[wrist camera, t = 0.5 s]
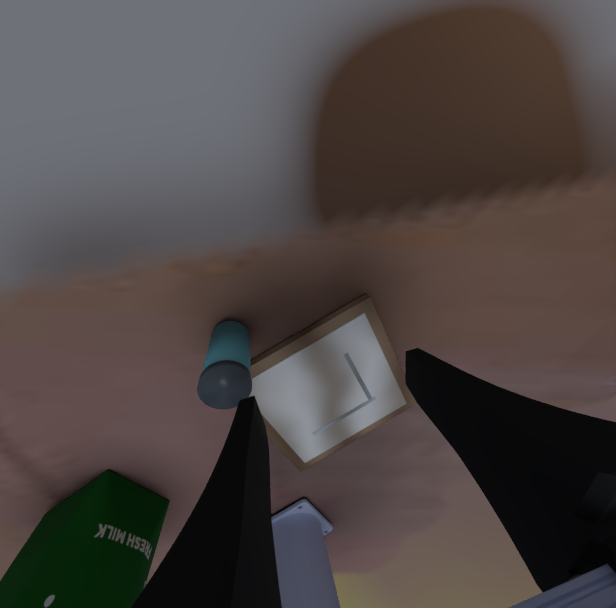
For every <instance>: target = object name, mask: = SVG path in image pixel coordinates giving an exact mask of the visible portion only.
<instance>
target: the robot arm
mask: <svg viewBox="0 0 616 608" xmlns="http://www.w3.org/2000/svg"><path fill="white" fill-rule="evenodd" d="M405 384H406V385H407V387H408V389H409V390H410V392H411V394H412V395H413V397H414V398H415V400H416V402H417V403H418V404H419V406H420V407H421V408H422V410H423V411H424V412H425V413H426V415H427V416H428V417H429V418H430V420H431V421H432V422H433V423H434V425H435V426H436V427H437V428H438V430H439V431H440V432H441V433H442V435H443V436H444V437H445V438H446V440H447V441H448V442H449V443H450V445H451V446H452V447H453V448H454V450H455V451H456V452H457V454H458V455H459V457H460V458H461V460H462V461H463V463H464V464H465V466H466V467H467V469H468V470H469V472H470V473H471V475H472V476H473V478H474V479H475V481H476V482H477V484H478V485H479V487H480V488H481V490H482V492H483V493H484V495H485V496H486V498H487V499H488V501H489V502H490V504H491V506H492V507H493V509H494V511H495V512H496V514H497V516H498V517H499V519H500V521H501V522H502V524H503V526H504V527H505V529H506V531H507V532H508V534H509V536H510V537H511V539H512V541H513V542H514V544H515V546H516V548H517V550H518V551H519V553H520V555H521V557H522V558H523V560H524V562H525V563H526V565H527V567H528V569H529V571H530V572H531V574H532V576H533V578H534V580H535V582H536V584H537V585H538V586H539V588H540V589H541V590H542V592H543V593H541V594H539V595H536V596H534V597H532V598H530V599H527V600H525V601H523V602H521V603H518V604H516V605H514V606H512V607H510V608H616V422H612V421H607V420H603V419H599V418H595V417H591V416H588V415H584V414H579V413H576V412H572V411H569V410H565V409H562V408H558V407H555V406H552V405H549V404H546V403H542V402H539V401H536V400H533V399H530V398H527V397H524V396H522V395H519V394H516V393H514V392H511V391H508V390H506V389H503V388H500V387H498V386H496V385H493V384H491V383H489V382H486V381H484V380H482V379H479V378H477V377H475V376H473V375H471V374H469V373H466V372H464V371H462V370H460V369H458V368H456V367H454V366H452V365H450V364H448V363H446V362H444V361H442V360H440V359H438V358H436V357H435V356H433V355H431V354H429V353H427V352H425V351H423V350H421V349H419V348H416V349H413V350H409V351H406V375H405ZM332 530H333V527H332V525H331V524H330V523H329V522H328V521H327V520H326V519H325V518H324V517H323V516H322V515H321V514H320V512H319V511H318V510H317V509H316V508H315V507H314V506H313V505H312V504H311V503H310V502H309V501H308V500H306V499H302V500H300V501H298V502H296V503H295V504H293V505H291V506H290V507H288V508H286V509H285V510H283V511H281V512H279V513H278V514H276V515H274V516H273V517H271V499H270V465H269V447H268V439H267V432H266V426H265V423H264V420H263V418H262V415H261V412H260V409H259V407H258V404H257V401H256V398H255V396H251V397H248V398H244V399H241V400H240V401H239V403H238V407H237V410H236V414H235V417H234V420H233V423H232V426H231V429H230V431H229V434H228V437H227V439H226V442H225V444H224V447H223V449H222V452H221V454H220V456H219V459H218V461H217V463H216V466H215V468H214V470H213V472H212V475H211V477H210V479H209V481H208V483H207V485H206V487H205V489H204V491H203V493H202V495H201V497H200V499H199V500H198V502H197V504H196V506H195V508H194V510H193V511H192V513H191V515H190V517H189V518H188V520H187V522H186V524H185V525H184V527H183V529H182V531H181V532H180V534H179V536H178V537H177V539H176V540H175V542H174V544H173V545H172V547H171V548H170V550H169V551H168V553H167V554H166V556H165V558H164V559H163V561H162V562H161V564H160V565H159V567H158V569H157V570H156V572H155V573H154V575H153V576H152V578H151V579H150V581H149V582H148V584H147V585H146V587H145V588H144V589H143V591H142V592H141V594H140V595H139V596H138V598H137V599H136V601H135V602H134V603H133V605H132V606H131V608H340V604H339V600H338V596H337V591H336V587H335V583H334V578H333V574H332V570H331V565H330V561H329V557H328V553H327V548H326V544H325V540H324V535H326V534H327V533H329V532H331V531H332Z"/></svg>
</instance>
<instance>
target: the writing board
mask: <svg viewBox="0 0 616 608" xmlns="http://www.w3.org/2000/svg"><path fill="white" fill-rule="evenodd" d="M250 362H251V376H252V391H251V394H250V396H249V397H251V396H255V398H256V401H257V404H258V407H259V409H260V412H261V415H262V418H263V420H264V423H265V426H266V432H267V436H268V437H269V438H270V439H271V440H272V441H273V442H274V443H275V444H276V445H277V446H278V448H279V449H280V450H281V451H282V452H283V453H284V454H285V455H286V456H287V457H288V458H289V459H290V461H291V462H292V463H293V464H294V465H295V466H296V467H297V468H298V469H299V470H300V471H302V470H304V469H306V468H308V467H309V466H311V465H313V464H314V463H316V462H318V461H319V460H321V459H323V458H325V457H326V456H328V455H330V454H331V453H333V452H335V451H337V450H338V449H340V448H342V447H343V446H345V445H347V444H349V443H350V442H352V441H354V440H355V439H357V438H359V437H360V436H362V435H364V434H366V433H367V432H369V431H371V430H372V429H374V428H376V427H378V426H379V425H381V424H383V423H384V422H386V421H388V420H390V419H391V418H393V417H395V416H396V415H398V414H400V413H401V412H403V411H405V410H407V409H408V408H410V407H412V406H413V405H415V404H417V403H416V401H415V398H414V397H413V395H412V394H411V392H410V390H409V389H408V387H407V385H406V384H405V375H404V373H403V371H402V368H401V366H400V364H399V362H398V359H397V357H396V355H395V352H394V350H393V348H392V346H391V343H390V341H389V339H388V336H387V334H386V332H385V330H384V327H383V325H382V323H381V320H380V318H379V316H378V314H377V311H376V309H375V307H374V304H373V302H372V300H371V297H370V296H369V295H367V294H364V295H363V296H361V297H359V298H358V299H356V300H354V301H352V302H351V303H349V304H347V305H345V306H344V307H342V308H340V309H339V310H337V311H335V312H333V313H332V314H330V315H328V316H327V317H325V318H323V319H321V320H320V321H318V322H316V323H315V324H313V325H311V326H309V327H308V328H306V329H304V330H302V331H301V332H299V333H297V334H296V335H294V336H292V337H290V338H289V339H287V340H285V341H284V342H282V343H280V344H278V345H277V346H275V347H273V348H271V349H270V350H268V351H266V352H265V353H263V354H261V355H259V356H258V357H256V358H254V359H253V360H251V361H250Z"/></svg>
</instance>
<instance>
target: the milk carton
mask: <svg viewBox="0 0 616 608" xmlns="http://www.w3.org/2000/svg"><path fill="white" fill-rule="evenodd" d="M168 504H169V501H168V500H166V499H164V498H162V497H160V496H158V495H156V494H154V493H152V492H150V491H148V490H146V489H144V488H143V487H141V486H139V485H137V484H135V483H133V482H131V481H129V480H127V479H125V478H123V477H121V476H119V475H117V474H115V473H113V472H111V471H109V470H107V471H105V472H104V473H103V474H101V475H100V476H98V477H97V478H95V479H94V480H93V481H91V482H90V483H88V484H87V485H86V486H84V487H83V488H81V489H80V490H79V491H77V492H76V493H74V494H73V495H72V496H70V497H69V498H67V499H66V500H64V501H63V502H62V503H60V504H59V505H57V506H56V507H55V508H53V509H52V510H50V511H49V512H48V513H46V514H45V515H44V517H43V518H42V520H41V521H40V523H39V524H38V526H37V527H36V528H35V530H34V531H33V533H32V534H31V536H30V537H29V539H28V540H27V542H26V543H25V545H24V546H23V548H22V549H21V551H20V552H19V554H18V555H17V557H16V558H15V559H14V561H13V563H12V564H11V566H10V567H9V569H8V570H7V572H6V573H5V575H4V576H3V578H2V579H1V581H0V608H131V606H132V605H133V603H134V602H135V601H136V599H137V598H138V596H139V595H140V594H141V592H142V591H143V589H144V588H145V585H146V581H147V577H148V574H149V570H150V567H151V563H152V560H153V556H154V553H155V550H156V546H157V543H158V539H159V536H160V532H161V529H162V525H163V522H164V518H165V515H166V511H167V508H168Z"/></svg>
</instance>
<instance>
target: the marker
mask: <svg viewBox="0 0 616 608" xmlns="http://www.w3.org/2000/svg"><path fill="white" fill-rule="evenodd" d="M251 391H252V376H251V362H250V335H249V331H248V330H247V328H246V327H245V326H244V325H243V324H241V323H239V322H237V321H226V322H223V323H220V324H219V325H217V326H216V327H215V328H214V330H213V332H212V335H211V339H210V343H209V347H208V351H207V355H206V359H205V363H204V367H203V371H202V374H201V376H200V379H199V383H198V387H197V392H198V395H199V397H200V399H201V400H202V401H203V402H204V403H205V404H206V405H208V406H210V407H213V408H216V409H229V408H233V407H236V406H238V403H239V401H240V400H241V399H244V398H248V397H249V396H250V394H251Z"/></svg>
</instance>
